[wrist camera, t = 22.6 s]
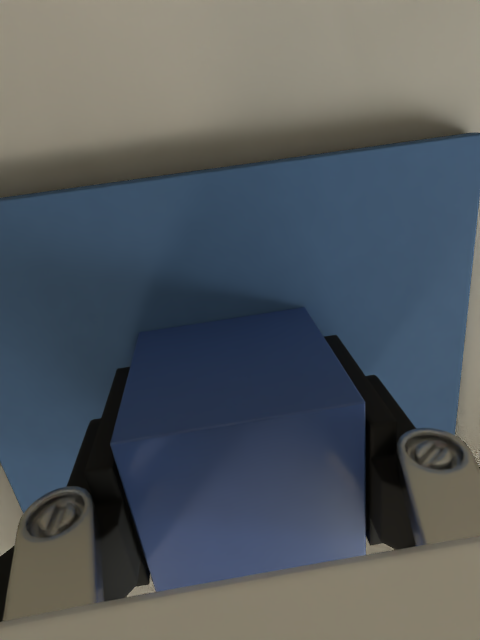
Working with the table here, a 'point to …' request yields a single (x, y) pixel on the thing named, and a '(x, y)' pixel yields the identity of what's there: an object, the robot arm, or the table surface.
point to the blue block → (241, 449)
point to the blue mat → (234, 279)
